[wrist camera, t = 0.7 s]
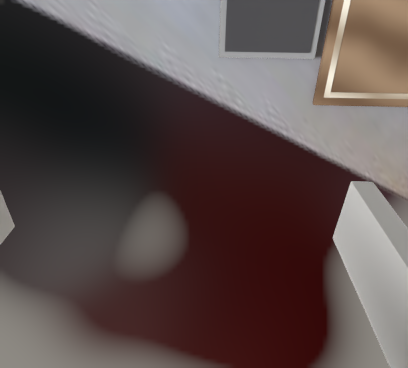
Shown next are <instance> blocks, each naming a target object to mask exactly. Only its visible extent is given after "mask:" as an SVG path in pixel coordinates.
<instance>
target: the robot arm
mask: <svg viewBox="0 0 408 368" xmlns="http://www.w3.org/2000/svg"><path fill="white" fill-rule="evenodd" d="M14 227H15V226H14V223H13V221H12V218H11V216H10V213H9V211H8V209H7V206H6V204H5V201H4V199H3V196H2V194H1V191H0V244H1V243H2V242H3V240H4V239H5V238H6V237H7V235H8V234H9V233H10V232H11V230H12V229H13V228H14ZM333 240H334V242H335V244H336V247H337V249H338V251H339V253H340V256H341V258H342V260H343V262H344V265H345V267H346V269H347V271H348V274H349V276H350V278H351V280H352V282H353V285H354V287H355V289H356V292H357V294H358V296H359V298H360V301H361V303H362V305H363V307H364V310H365V312H366V314H367V317H368V319H369V321H370V323H371V325H372V328H373V330H374V332H375V335H376V337H377V339H378V341H379V344H380V346H381V348H382V351H383V353H384V355H385V357H386V359H387V362H388V364H389V366H390V368H408V228H407V227H406V225H405V224H404V223H403V222H402V220H401V219H400V218H399V216H398V215H397V214H396V212H395V211H394V210H393V208H392V207H391V206H390V204H389V203H388V202H387V200H386V199H385V198H384V196H383V195H382V194H381V192H380V191H379V190H378V188H377V187H376V186H375V184H374V183H373V182H358V181H351V184H350V187H349V190H348V193H347V196H346V199H345V202H344V205H343V208H342V211H341V214H340V217H339V220H338V223H337V226H336V230H335V233H334V236H333Z"/></svg>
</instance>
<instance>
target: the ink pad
mask: <svg viewBox="0 0 408 368" xmlns="http://www.w3.org/2000/svg"><path fill="white" fill-rule="evenodd" d="M324 5H325V0H220V31H219V57H222V58H282V59H315V54H316V49H317V43H318V38H319V32H320V27H321V21H322V16H323V10H324Z"/></svg>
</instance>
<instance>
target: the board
mask: <svg viewBox="0 0 408 368" xmlns="http://www.w3.org/2000/svg"><path fill="white" fill-rule="evenodd" d="M313 104H314V105H339V106H388V107H408V0H333V1H332V6H331V11H330V16H329V22H328V27H327V32H326V37H325V42H324V47H323V52H322V58H321V63H320V68H319V73H318V78H317V83H316V89H315V94H314V99H313Z"/></svg>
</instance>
